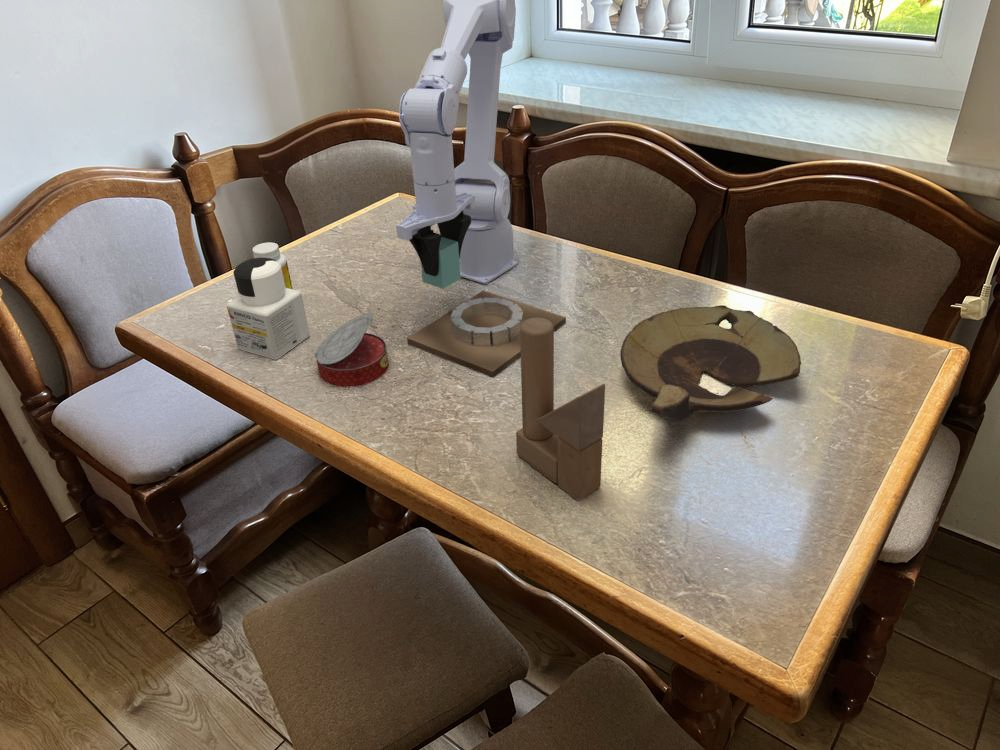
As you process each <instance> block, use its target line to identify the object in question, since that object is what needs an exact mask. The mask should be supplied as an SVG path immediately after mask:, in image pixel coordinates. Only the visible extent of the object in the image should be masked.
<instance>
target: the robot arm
mask: <svg viewBox="0 0 1000 750" xmlns="http://www.w3.org/2000/svg"><path fill="white" fill-rule="evenodd" d="M442 6H443V7H442V12H443V13H442V14H443V20H444V23H445V25H446V26H445V27H446V28H445V32H444V34H443V37H442V41H441V45H440V47H438V48H435V49H432V51H430V53H429V54H428V57H427V59H426V61H425V64H424V65H423V68H422V70H421V72H420V74H419V77H418V80H417V82H416V84H415V85H414V87H411V88H409V89H408V90H407V91H406V92H405V91H404V93H403V94H402V95H401V97H400V100H399V108H398V110H399V111H398V113H399V116H398V121H399V125H400V128H401V130H402V131H403V134H404V138H405V141H404V142H405V144H406V147H407V148H410V158H411V160H410V161H411V170H412V178H413V185H414V186H413V187H414V188H413V189H414V197H415V203H414V204H413V205H412V210H413V211H412V212H411V213H409V215H407V216H406V217H405V218H404V219H403V220H401V221H400V222H399V223H396V225H395V226H396V235H397V236H396V237H397V238H398V239H400V240H401V239H402V240H404V241H409V242H410V244H411V245H412V247H413V248H414V250H415V251H416V254H417V256H418V258H419V261H420V264H421V263H422V266H423V269H424V271H425V273H426V274H429V275H432V276H437V275H438V271H439V258H438V254H439V246H440V241H441V238H442V237H444V238H447V239H450V240H454V241H457V242H458V249H459V263H460V277H461V278H465V279H467V280H471V281H473V282H476V283H479V284H483V285H486V284H489V282H492V281H493V280H494V279H496V278H498V277H499V276H501V275H502V274H504V273H506V272H507V271H509V270H510V269H513V268H514V267H516V266H517V265H519V264H518V263H519V262H518V261H517V260H515V258H514V257H515V256H514V254H515V253H514V232H513V231H514V230H513V226H512V223H511V222H510V220H509V217H508V216H509V214H510V209H511V194H510V192H511V191H510V179H509V176H508V175H507V173H506V172H505V171H504V170H503V169H501V168H500V166H498V165H497V164H496V163H495V153H496V152H495V150H496V139H497V138H496V137H497V135H496V134H497V119H498V107H499V97H500V96H499V95H500V93H499V92H500V79H501V67H502V61H503V54H504V53H506V52H508V51H509V50H511V49H512V48H513V42H514V39H515V29H516V16H517V9H516V1H515V0H443V2H442ZM468 55H469V58H470V62H469V63H470V65H469V66H470V67H469V79H468V80H469V81H468V93H467V94H468V96H467V110H466V111H467V112H466V125H465V126H466V128H465V142H464V143H465V144H464V158H463V162H461V163H460V164H459V165H457V166H456V167H455V165H454V164H455V163H454V147H453V146H454V145H453V138H452V137H453V136H452V135H453V132H454V131H455V129H456V126H457V120H458V111H459V105H460V103H459V98H458V97H459V95H460V93H461V89H462V88H463V85H464V83H465V80H466V78H467V75H468V65H467V62H466V58H467V57H468ZM470 180H473V181H485V182H470ZM486 181H488V182H492V183H488V182H487V183H486ZM435 225H437V228H438V230H439V231H438V232H439V233H437V232H434V229H432V226H435Z"/></svg>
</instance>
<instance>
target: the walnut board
mask: <svg viewBox="0 0 1000 750" xmlns="http://www.w3.org/2000/svg"><path fill="white" fill-rule="evenodd" d="M478 298H482V299H484V298H500V299H505V300H508V301H511V302H514V303H515V304H517V305H518V306H519V307H520V308H521V309H522V310H523V322H524V321H525V320H527V319H530V318H544V319H547V320H549V321H550V322H552V324H553V326H554V333H555V332H556V331H558V330H560V328H561V327H563V326H564V325H565V324H566V323H567V320H566V319H567V317H566V316H563V315H559V314H557V313H555V312H554V313H553V312H551V311H548V310H546V309H545V310H544V309H542V308H538V307H535V306H532V305H529V304H526V303H523V302H519V301H517V300H513V299H512V298H511V299H510V298H508V297H504V296H502V295H499V294H495V293H494V292H493V293H492V292H489V291H487V290H485V289H484V290H482V291H480V292H478V293H477V294H475V295H474V296H472V297H470V298H469V299H467V300H465V301H464V302H466V303H467V301H470V300H474V299H478ZM461 304H462V303H461ZM461 304H459V305H461ZM453 310H455V309H454V308H452V309H451V310H450V311H448V312H446V313H444V314H443V315H441V316H439V317H438V318H436V319H435V320H434V321H432V322H430V323H429V324H427V325H425V326H424V327H422V328H420V329H419V330H417V331H415V332H414V333H413V334H411V335H410V336H408V337H406V342H407V345H410V346H412V347H414V348H418V349H420V350H421V351H425V352H427V353H429V354H432V355H435V356H437V357H440V358H442V359H444V360H447V361H449V362H450V361H451V362H452V363H455V364H457V365H460V366H463V367H464V368H468V369H469V370H473V371H475V372H478V373H480V374H482V375H485V376H487V377H490V378H493V379H494V378H495V377H496V376H497V375H499V374H500V373H502V372H503V371H504V370H505V369H507V368H508V367H510V366H511V365H512V364H513V363H515V362H516V361H518V360H520V359H521V350H520V335H519V336H517V337H516V338H515V339H513V340H512V341H509V342H507V343H503V344H499V345H495V346H493V345H492V344H491V346H474V344H472V345H470V344H467V343H464V342H462V341H459V339H457V338H456V337H455V336H454V334H453V333H452V330H451V319H450V317H451V314H452V312H453ZM507 321H509V320H508V319H507V318H504V317H501V316H498V315H482V316H478V317H474V318H471V319H470V320H468V321H467V322H465V323H466V324H469V325H472V326H474V327H486V328H490V327H495V326H499V325H503V324H504V323H506V322H507Z"/></svg>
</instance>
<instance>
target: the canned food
mask: <svg viewBox="0 0 1000 750" xmlns="http://www.w3.org/2000/svg"><path fill="white" fill-rule="evenodd" d="M373 320H374V313H373V312H367V313H364V314H363V313H362V315H360V316H357V317H355V318H352V319H351V320H349V321H348V322H346V323H344V324H342V325H341V326H339V327H338V328H337V329H336V330H334V331H333V332H331V333H330V334H329V335H328V336H327V337H326V338H325V340H323V341H322V342H321V343H320V345H319V346H318V348H317V349H316V351H315V356H314V357H315V360H316V364H317V369H318V375H319V377H320V378H322V379H323V380H324V382H325V383H326V382H327V384H328V383H329V384H328V385H330V384H331V385H330V386H334V385H335V387H339V386H341V387H342V388H351V387H350V386H354V387H359V385H360V386H364V385H367V384H370V383H373V382H374V381H376V380H378V379H380V378H381V377H382V376H383V375H385V374H386V372H387V371H388V369H389V365H390V364H389V363H390V362H389V357H388V355H389V354H388V348H387V343H386V342H385V340H384V339H383V338H381V336H378V335H376V334H373V333H370V332H369V333H368V332H367V330H368V329H369V328H370V327H371V326H372V323H373ZM379 377H380V378H379ZM322 379H321V380H322ZM323 380H322V381H323ZM347 386H348V387H347Z"/></svg>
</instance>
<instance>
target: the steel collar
mask: <svg viewBox="0 0 1000 750" xmlns="http://www.w3.org/2000/svg"><path fill="white" fill-rule="evenodd" d="M466 301H467V300H466ZM453 309H455V310H453V312H452V314H451V317H450V319H451V330H452V333H453V334H454V336H455V337H456V338H457V339H459V341H462V342H464V343H467V344H470V345H472V344H474V346H491V344H492V345H493V346H495V345H499V344H503V343H507V342H509V341H512V340H513V339H515V338H516V337H517V336H519V335H520V326H521V324H522V323H523V310H522V309H521V308H520V307H519V306H518V305H517V304H515V303H514V302H511V301H508V300H505V299H500V298H484V299H482V298H478V299H474V300H470V301H467V303H466V302H465V301H464V302H462V303H461V305H460V304H459V305H458V306H455V307H454V308H453ZM482 315H498V316H501V317H504V318H507V319H508V320H509V321H507V322H506V323H504V324H503V325H499V326H495V327H490V328H486V327H474V326H472V325H469V324H466V323H465V322H467V321H468V320H470V319H471V318H474V317H478V316H482Z"/></svg>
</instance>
